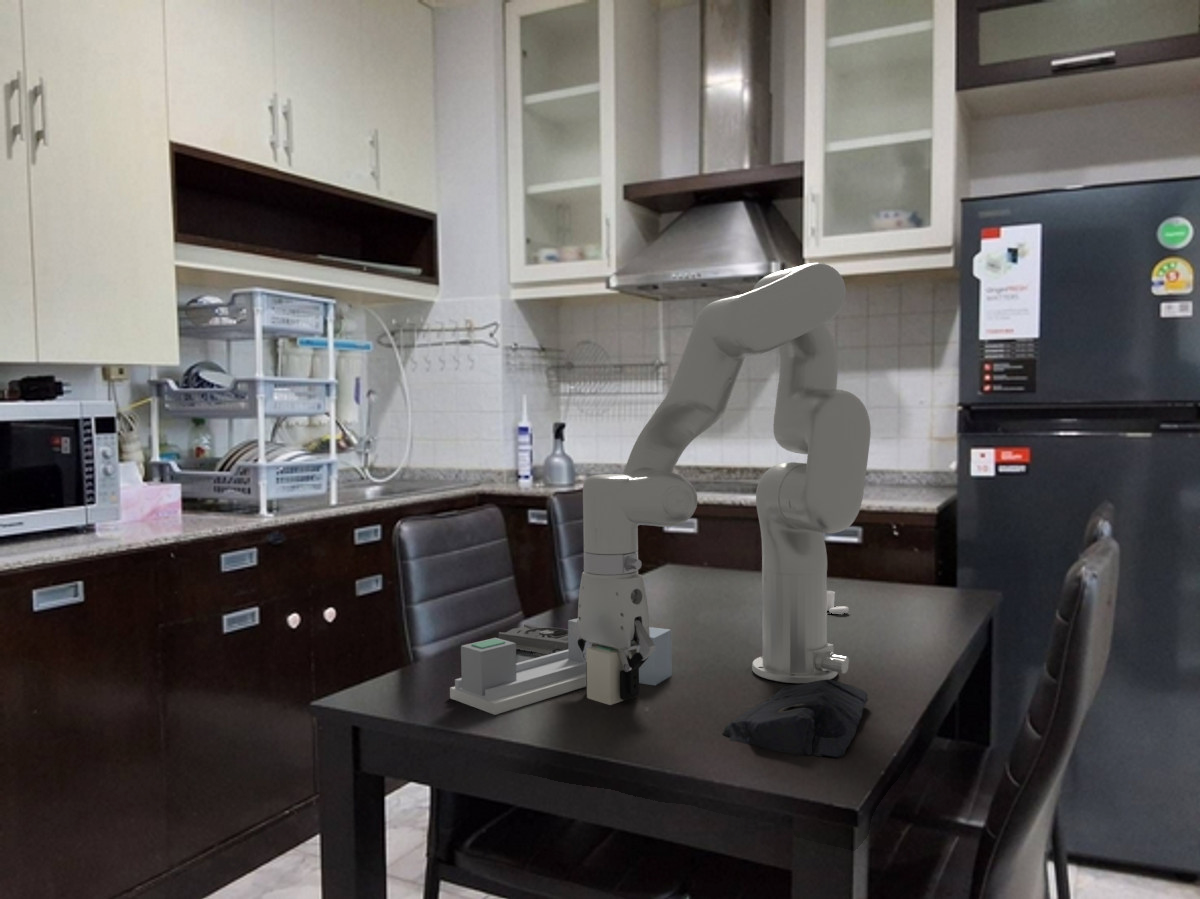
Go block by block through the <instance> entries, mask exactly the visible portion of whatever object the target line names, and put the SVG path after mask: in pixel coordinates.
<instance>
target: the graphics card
mask: <svg viewBox="0 0 1200 899" xmlns="http://www.w3.org/2000/svg"><path fill="white" fill-rule="evenodd" d="M498 638H499V639H502V640H506V641H510V642H513V643H516V650H518V649H520V651H524V650H525V651H524V652H531V651H532V653H533V656H538V657H541V656H545V655H549V654H553V653H556V652H560V651H564V650H568V628H567V629H566V628H562V627H552V626H550V627H549V626H544V625H536V624H535V625H534V624H528V623H527V624H523V626H522V627H516V628H511V629H510V630H508V631H506V632H501V631H499V632H498ZM526 654H527V653H525V655H526ZM527 655H528V654H527Z"/></svg>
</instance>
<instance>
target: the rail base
mask: <svg viewBox="0 0 1200 899" xmlns="http://www.w3.org/2000/svg"><path fill="white" fill-rule="evenodd" d="M582 688H583V689H584V688H586V661H585V662H582V663H580V662H576V661H573V660H569V651H568V650H564V651H560V652H556V653H553V654H549V655H545V656H538V657H535V658H530V659H527V660H524V661H519V662H516V681H515V682H511V683H508V684H504V685H501V686H497V687H494V688H490V689H487V690H485V695H484V696H480V695H477V694H474V693H472V692H469V691H466V690H463V689H462V677H459V678H456V679H454V686H451V687H449V698H450V699H451V700H454V701H456V702H460V703H462V704H465V705H467V706H470V707H472V708H473V707H474V708H476V709H479V710H480V711H484V712H486V713H489V714H491V715H494V716H495V715H499V714H501V713H505V712H509V711H512V710H515V709H519V708H521V707H524V706H527V705H531V704H534V703H537V702H540V701H544V700H546V699H547V700H548V699H550V698H553V697H556V696H557V697H558V696H560V695H563V694H566V693H569V692H572V691H573V692H574V691H575V690H578V689H579V690H580V689H582Z"/></svg>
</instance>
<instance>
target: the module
mask: <svg viewBox="0 0 1200 899" xmlns="http://www.w3.org/2000/svg"><path fill="white" fill-rule="evenodd" d="M649 630H650V638H651V640H652V641H653V643H654V644H655V646H656V650H655V651H654V652H653V653H652V654H651V655H650V656H649V657H648V659H647V660H646V661H645V662H644V663H643V666H642V667H641V668H639V684H642V685H643V684H644V685H649V686H657V685H658V684H660V683H661V682H664V681H665V680H667V679H669V678H670V677H672V676H673V675H672V674H673V673H672V672H673V671H672V668H673V667H672V665H673V664H672V663H673V662H672V629H671V628H670V629H669V628H660V627H653V626H649ZM638 647H639V650H640V645H638Z"/></svg>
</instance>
